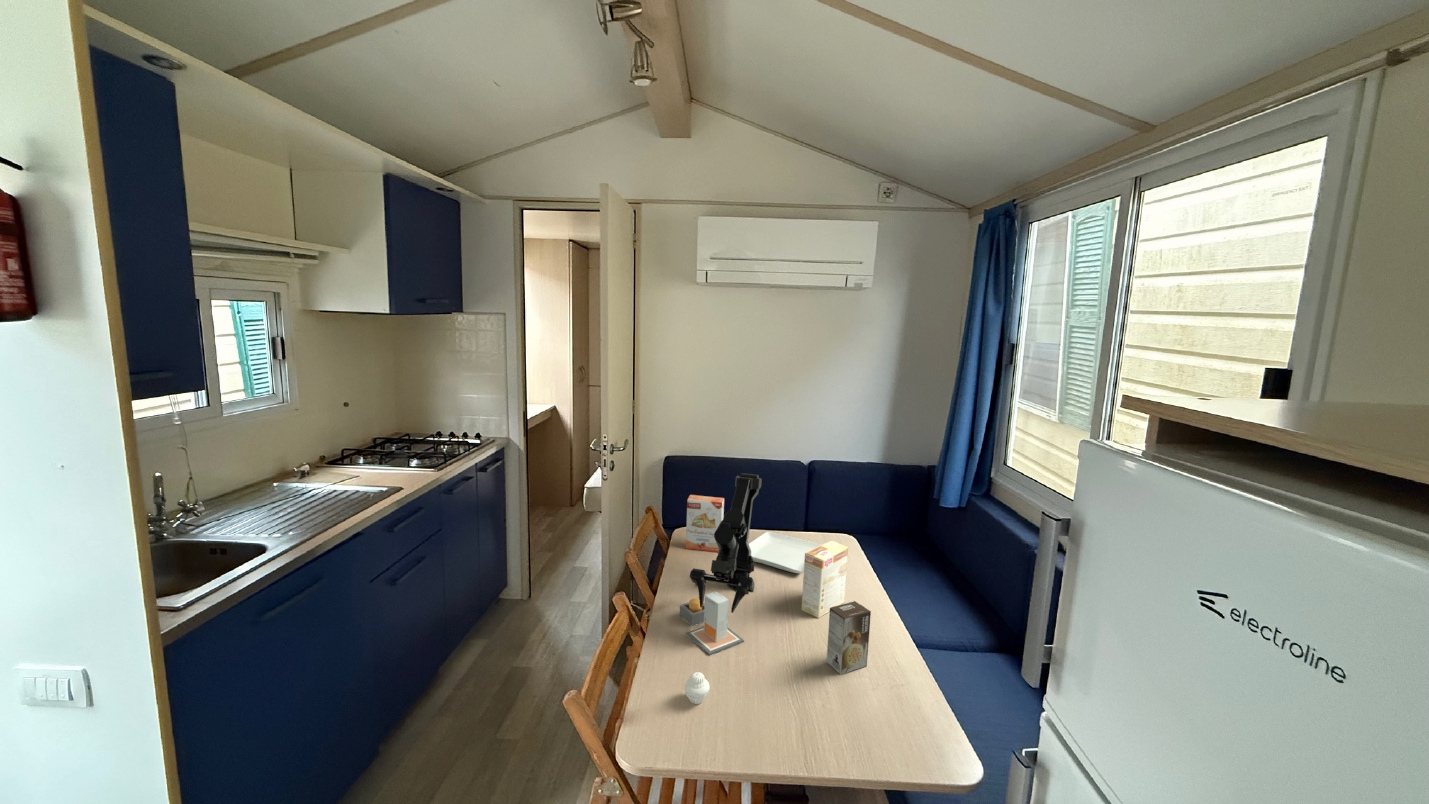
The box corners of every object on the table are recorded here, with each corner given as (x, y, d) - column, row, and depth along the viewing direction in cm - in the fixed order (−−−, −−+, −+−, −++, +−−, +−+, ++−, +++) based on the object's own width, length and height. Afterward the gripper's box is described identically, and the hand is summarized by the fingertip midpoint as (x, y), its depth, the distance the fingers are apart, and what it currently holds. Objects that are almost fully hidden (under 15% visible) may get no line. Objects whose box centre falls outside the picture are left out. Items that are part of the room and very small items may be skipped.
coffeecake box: (827, 594, 189) (830, 539, 186) (845, 602, 184) (849, 546, 181) (800, 609, 178) (803, 552, 175) (818, 619, 173) (822, 559, 170)
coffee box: (851, 653, 156) (855, 599, 153) (867, 666, 150) (872, 611, 148) (825, 661, 152) (829, 607, 149) (840, 675, 146) (845, 618, 144)
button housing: (698, 609, 176) (698, 599, 176) (711, 619, 171) (711, 608, 170) (679, 615, 172) (679, 605, 172) (691, 626, 167) (692, 615, 166)
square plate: (828, 554, 222) (828, 545, 221) (800, 580, 199) (801, 570, 198) (767, 538, 236) (767, 529, 235) (734, 561, 213) (735, 551, 212)
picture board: (719, 622, 169) (719, 620, 169) (744, 642, 159) (744, 639, 159) (686, 634, 162) (686, 632, 162) (709, 655, 153) (709, 653, 152)
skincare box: (702, 633, 162) (704, 594, 160) (713, 628, 165) (715, 590, 163) (716, 643, 157) (717, 603, 155) (727, 638, 160) (729, 599, 158)
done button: (697, 606, 174) (697, 597, 173) (704, 612, 171) (704, 602, 170) (686, 609, 171) (686, 600, 171) (693, 615, 168) (693, 606, 168)
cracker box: (685, 549, 220) (686, 498, 217) (688, 543, 226) (689, 494, 223) (720, 553, 218) (722, 502, 215) (722, 547, 224) (724, 497, 221)
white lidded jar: (695, 687, 139) (696, 662, 138) (714, 699, 135) (715, 672, 134) (678, 700, 134) (679, 674, 133) (697, 712, 131) (698, 685, 130)
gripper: (692, 542, 165) (679, 595, 156) (754, 551, 160) (745, 606, 151) (699, 556, 173) (687, 607, 165) (758, 565, 169) (749, 618, 160)
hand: (716, 609), depth 160 cm, fingers open, 9 cm apart
